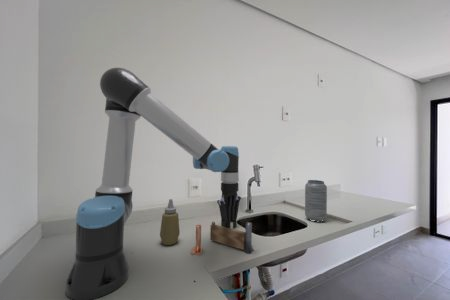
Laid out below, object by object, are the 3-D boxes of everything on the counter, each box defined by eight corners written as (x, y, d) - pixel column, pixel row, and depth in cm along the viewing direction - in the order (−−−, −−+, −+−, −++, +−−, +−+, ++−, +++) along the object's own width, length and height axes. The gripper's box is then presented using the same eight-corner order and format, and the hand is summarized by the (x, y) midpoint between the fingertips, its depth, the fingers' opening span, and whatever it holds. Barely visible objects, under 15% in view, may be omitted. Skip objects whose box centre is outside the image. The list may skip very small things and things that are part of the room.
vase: (330, 221, 113) (330, 181, 114) (319, 224, 107) (319, 182, 107) (311, 215, 123) (312, 179, 123) (300, 218, 116) (301, 180, 117)
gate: (245, 248, 76) (245, 229, 77) (243, 249, 75) (244, 230, 75) (212, 238, 85) (212, 221, 85) (210, 239, 83) (210, 222, 84)
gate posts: (251, 246, 80) (252, 219, 80) (254, 254, 73) (255, 225, 73) (193, 245, 79) (193, 218, 79) (190, 254, 72) (191, 224, 72)
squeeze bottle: (173, 236, 87) (174, 196, 88) (183, 242, 82) (184, 199, 82) (156, 242, 82) (157, 199, 82) (165, 249, 76) (166, 202, 76)
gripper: (232, 179, 91) (232, 230, 90) (212, 182, 81) (212, 239, 81) (245, 181, 86) (245, 235, 85) (225, 184, 76) (225, 245, 76)
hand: (229, 237), depth 83 cm, fingers closed
